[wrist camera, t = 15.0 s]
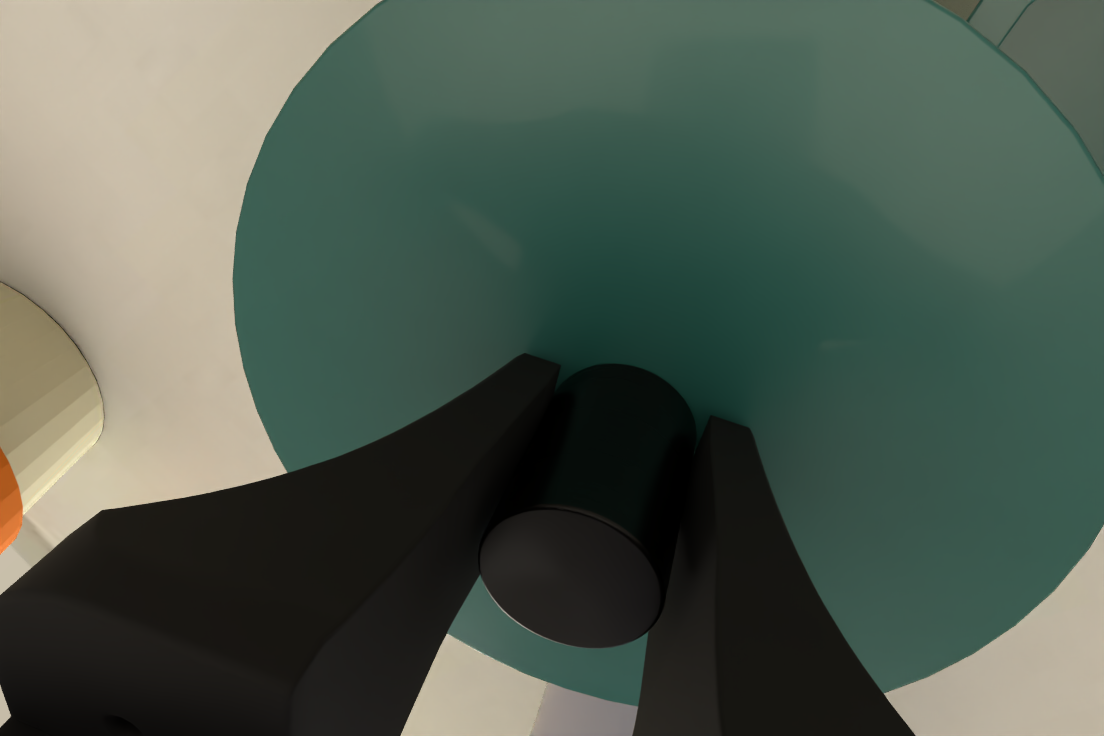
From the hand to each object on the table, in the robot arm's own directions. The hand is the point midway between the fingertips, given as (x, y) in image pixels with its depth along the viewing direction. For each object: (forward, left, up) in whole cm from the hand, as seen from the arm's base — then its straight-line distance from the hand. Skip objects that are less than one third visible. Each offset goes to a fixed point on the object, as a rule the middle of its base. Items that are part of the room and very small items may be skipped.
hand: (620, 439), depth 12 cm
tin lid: (0, 0, -1) cm, 1 cm away
